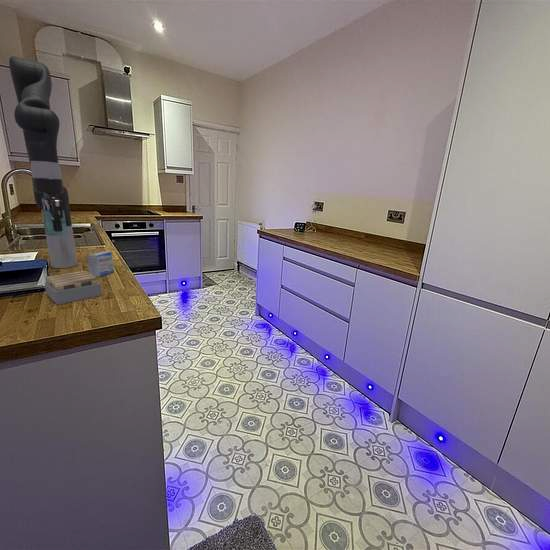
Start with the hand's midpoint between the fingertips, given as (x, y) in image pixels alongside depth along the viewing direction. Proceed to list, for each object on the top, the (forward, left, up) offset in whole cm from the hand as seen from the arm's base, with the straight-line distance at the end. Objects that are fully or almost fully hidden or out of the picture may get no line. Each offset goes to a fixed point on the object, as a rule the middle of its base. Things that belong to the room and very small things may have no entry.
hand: (56, 230), depth 97 cm
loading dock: (+14, -1, -19) cm, 24 cm away
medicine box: (-5, +14, -19) cm, 24 cm away
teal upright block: (0, 0, -1) cm, 1 cm away
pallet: (+14, -1, -15) cm, 21 cm away
